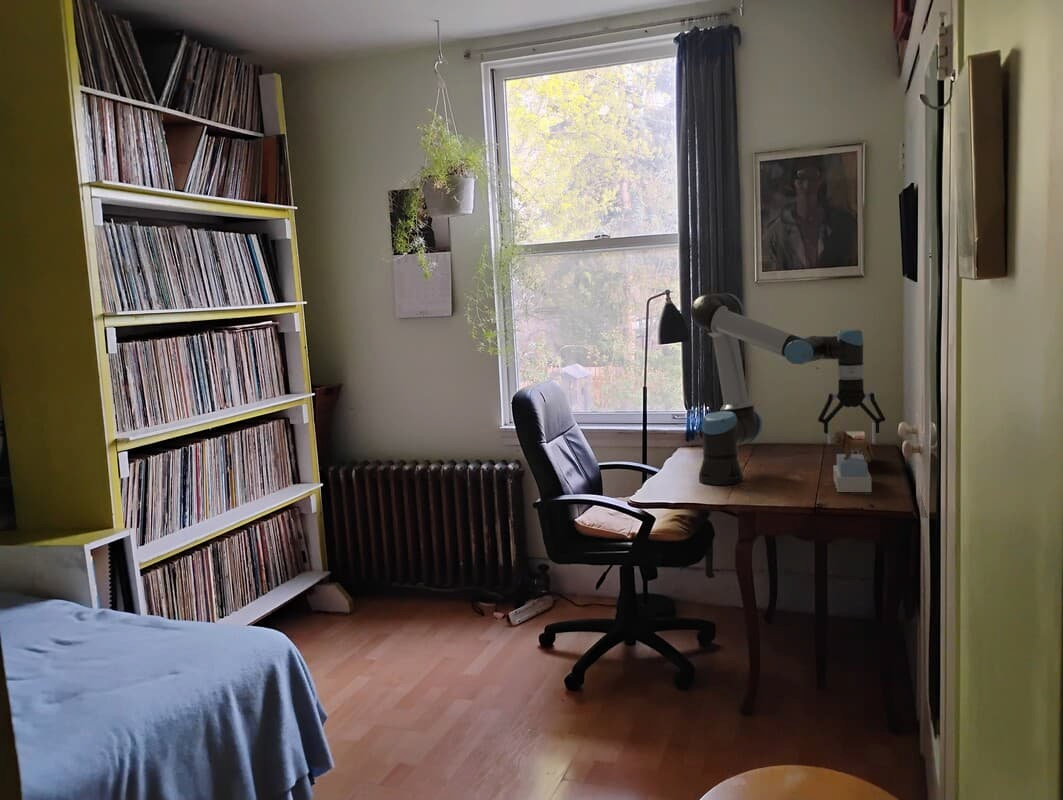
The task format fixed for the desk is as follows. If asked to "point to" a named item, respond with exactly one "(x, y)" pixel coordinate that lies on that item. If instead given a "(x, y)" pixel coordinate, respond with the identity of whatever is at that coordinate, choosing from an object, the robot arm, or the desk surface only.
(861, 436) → the stack of blocks
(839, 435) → the lion figurine
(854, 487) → the two-tone layered slab
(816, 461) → the desk surface
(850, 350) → the robot arm
